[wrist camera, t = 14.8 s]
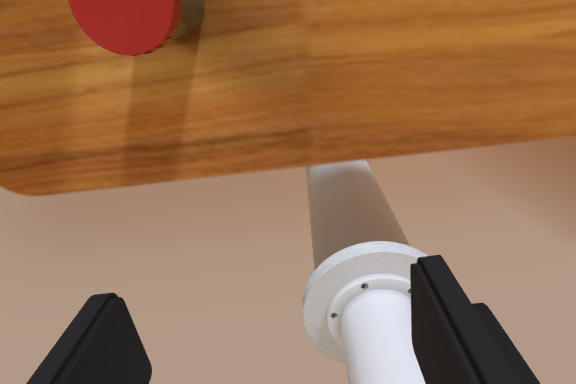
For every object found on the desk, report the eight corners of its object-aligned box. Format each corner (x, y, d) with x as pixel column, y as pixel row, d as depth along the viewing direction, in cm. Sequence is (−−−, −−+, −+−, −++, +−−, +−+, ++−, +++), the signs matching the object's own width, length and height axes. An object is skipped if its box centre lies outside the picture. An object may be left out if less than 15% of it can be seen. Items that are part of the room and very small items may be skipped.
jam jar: (215, 22, 35) (184, 24, 25) (162, 48, 36) (114, 59, 26) (184, -43, 32) (138, -69, 23) (129, -13, 33) (63, -27, 24)
